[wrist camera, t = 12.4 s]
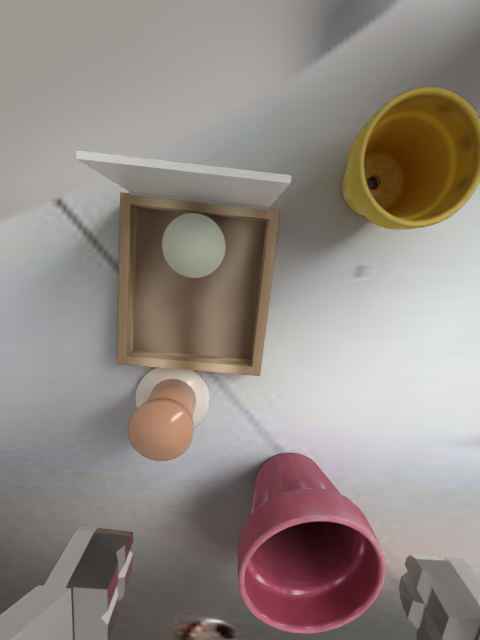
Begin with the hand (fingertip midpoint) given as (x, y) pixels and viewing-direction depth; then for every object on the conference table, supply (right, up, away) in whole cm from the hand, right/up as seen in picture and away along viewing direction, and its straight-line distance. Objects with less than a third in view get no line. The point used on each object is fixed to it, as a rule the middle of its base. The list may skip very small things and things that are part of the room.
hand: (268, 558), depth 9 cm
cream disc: (-9, -3, +30) cm, 31 cm away
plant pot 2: (+13, +22, +25) cm, 36 cm away
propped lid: (-5, +19, +22) cm, 30 cm away
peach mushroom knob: (-9, -3, +29) cm, 30 cm away
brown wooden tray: (-6, +11, +27) cm, 29 cm away
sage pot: (-5, +15, +25) cm, 30 cm away
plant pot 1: (+6, -15, +33) cm, 36 cm away
